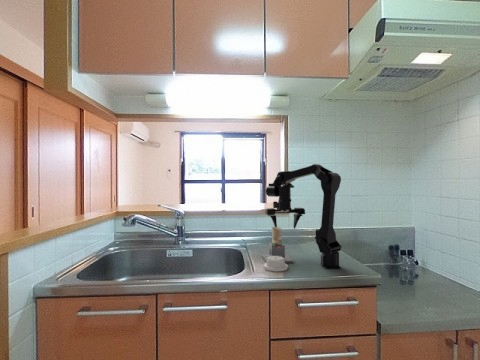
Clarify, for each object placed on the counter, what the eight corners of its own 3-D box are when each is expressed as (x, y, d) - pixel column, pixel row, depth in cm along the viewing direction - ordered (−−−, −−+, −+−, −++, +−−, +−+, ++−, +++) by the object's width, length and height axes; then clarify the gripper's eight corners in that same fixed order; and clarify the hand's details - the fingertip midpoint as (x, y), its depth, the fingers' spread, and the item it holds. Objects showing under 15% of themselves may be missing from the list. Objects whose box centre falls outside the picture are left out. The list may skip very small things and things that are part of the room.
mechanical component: (264, 264, 120) (262, 271, 110) (264, 254, 120) (262, 260, 110) (287, 265, 118) (287, 272, 108) (287, 255, 118) (287, 261, 109)
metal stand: (286, 255, 133) (285, 241, 133) (293, 262, 121) (293, 246, 121) (261, 256, 132) (261, 242, 132) (266, 263, 120) (266, 247, 120)
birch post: (279, 248, 129) (279, 227, 129) (281, 250, 125) (281, 228, 125) (271, 248, 128) (271, 227, 128) (273, 250, 124) (273, 228, 125)
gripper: (298, 196, 143) (298, 225, 143) (263, 196, 141) (263, 226, 141) (305, 197, 132) (305, 229, 132) (267, 197, 130) (267, 230, 130)
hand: (285, 228), depth 134 cm, fingers open, 9 cm apart
